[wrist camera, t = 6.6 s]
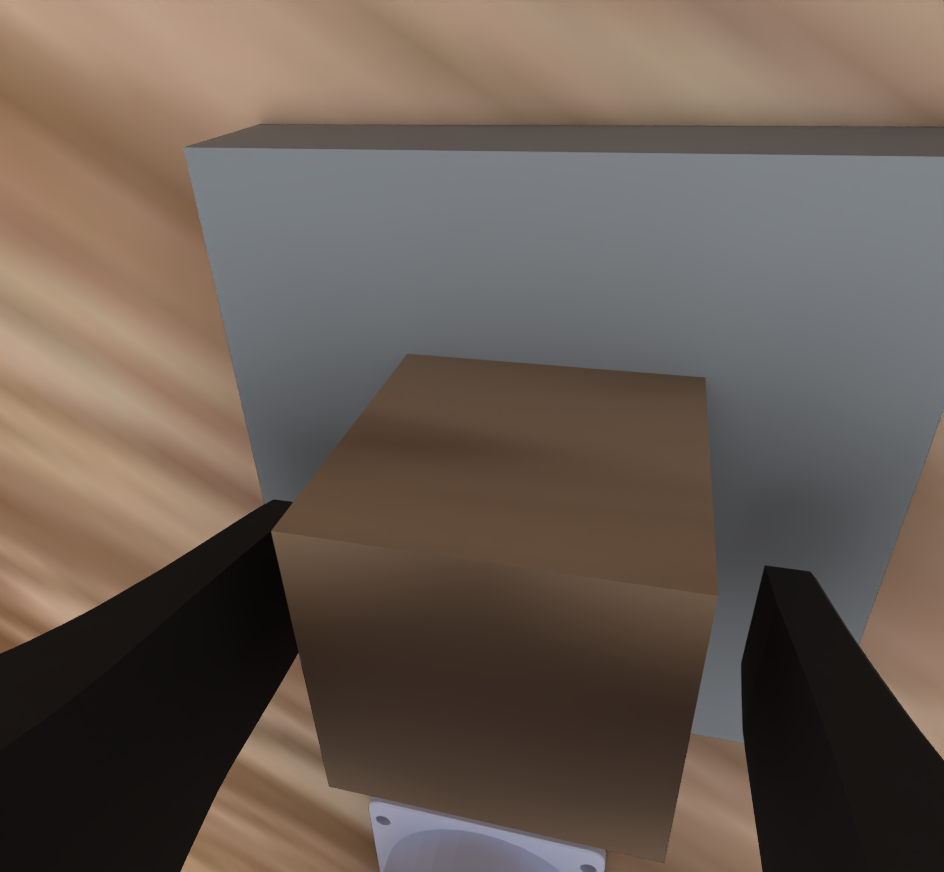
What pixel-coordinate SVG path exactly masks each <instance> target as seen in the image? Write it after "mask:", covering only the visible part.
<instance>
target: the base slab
mask: <svg viewBox="0 0 944 872" xmlns="http://www.w3.org/2000/svg"><path fill="white" fill-rule="evenodd" d="M183 148H184V152H185V156H186V161H187V165H188V170H189V174H190V179H191V183H192V187H193V192H194V196H195V201H196V205H197V209H198V214H199V218H200V223H201V227H202V231H203V236H204V240H205V245H206V249H207V253H208V258H209V262H210V267H211V271H212V276H213V280H214V284H215V289H216V293H217V298H218V302H219V306H220V311H221V315H222V320H223V324H224V328H225V333H226V337H227V342H228V346H229V350H230V355H231V359H232V364H233V368H234V372H235V377H236V381H237V386H238V390H239V395H240V399H241V403H242V408H243V412H244V417H245V421H246V425H247V430H248V434H249V439H250V443H251V447H252V452H253V456H254V461H255V465H256V469H257V474H258V478H259V483H260V487H261V492H262V496H263V500H264V504H266V503H268V502H270V501H271V500H273V499H275V500H283V501H290V502H294V501H295V499H296V498H297V497H298V495H299V494H300V493H301V492H302V490H303V489H304V488H305V486H306V485H307V484H308V482H309V481H310V480H311V479H312V477H313V476H314V475H315V473H316V472H317V471H318V469H319V468H320V467H321V466H322V464H323V463H324V462H325V460H326V459H327V458H328V456H329V455H330V454H331V453H332V451H333V450H334V449H335V447H336V446H337V445H338V443H339V442H340V441H341V440H342V438H343V437H344V436H345V434H346V433H347V432H348V430H349V429H350V428H351V427H352V425H353V424H354V423H355V421H356V420H357V419H358V417H359V416H360V415H361V414H362V412H363V411H364V410H365V408H366V407H367V406H368V404H369V403H370V402H371V401H372V399H373V398H374V397H375V395H376V394H377V393H378V391H379V390H380V389H381V388H382V386H383V385H384V384H385V382H386V381H387V380H388V378H389V377H390V376H391V375H392V373H393V372H394V371H395V369H396V368H397V367H398V365H399V364H400V363H401V362H402V360H403V359H404V358H405V356H406V355H407V354H416V355H428V356H441V357H454V358H466V359H479V360H491V361H504V362H517V363H529V364H542V365H554V366H567V367H580V368H592V369H605V370H617V371H630V372H643V373H655V374H668V375H680V376H693V377H705V383H706V399H707V416H708V432H709V449H710V466H711V482H712V499H713V516H714V532H715V549H716V565H717V582H718V600H717V605H716V610H715V615H714V620H713V625H712V630H711V635H710V640H709V645H708V650H707V654H706V659H705V664H704V669H703V674H702V679H701V684H700V689H699V694H698V699H697V704H696V709H695V714H694V719H693V724H692V729H691V733H692V734H697V735H702V736H708V737H713V738H718V739H724V740H729V741H734V742H740V743H744V737H743V730H742V698H741V661H742V657H743V653H744V648H745V644H746V640H747V636H748V632H749V628H750V624H751V619H752V615H753V611H754V607H755V603H756V599H757V595H758V591H759V586H760V582H761V578H762V574H763V570H764V566H765V565H767V566H774V567H782V568H789V569H797V570H804V571H810V572H811V573H812V574H813V575H814V576H815V578H816V579H817V580H818V582H819V584H820V585H821V587H822V589H823V590H824V592H825V593H826V595H827V597H828V598H829V600H830V601H831V603H832V605H833V606H834V608H835V609H836V611H837V613H838V614H839V616H840V617H841V619H842V620H843V622H844V624H845V625H846V627H847V628H848V630H849V631H850V633H851V634H852V636H853V637H854V639H855V640H856V642H857V643H858V645H859V643H860V640H861V637H862V635H863V632H864V629H865V626H866V624H867V621H868V618H869V615H870V612H871V610H872V607H873V604H874V601H875V599H876V596H877V593H878V590H879V587H880V585H881V582H882V579H883V576H884V574H885V571H886V568H887V565H888V563H889V560H890V557H891V554H892V551H893V549H894V546H895V543H896V540H897V538H898V535H899V532H900V529H901V526H902V524H903V521H904V518H905V515H906V513H907V510H908V507H909V504H910V501H911V499H912V496H913V493H914V490H915V488H916V485H917V482H918V479H919V477H920V474H921V471H922V468H923V465H924V463H925V460H926V457H927V454H928V452H929V449H930V446H931V443H932V440H933V438H934V435H935V432H936V429H937V427H938V424H939V421H940V418H941V415H942V413H943V410H944V127H786V126H529V125H271V124H259V125H256V126H253V127H249V128H246V129H243V130H239V131H236V132H233V133H229V134H226V135H223V136H220V137H216V138H213V139H210V140H206V141H203V142H200V143H196V144H193V145H190V146H187V147H183ZM298 655H299V653H298ZM299 659H300V656H299Z"/></svg>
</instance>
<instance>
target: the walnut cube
mask: <svg viewBox="0 0 944 872" xmlns="http://www.w3.org/2000/svg"><path fill="white" fill-rule="evenodd" d="M271 533H272V537H273V542H274V546H275V551H276V555H277V559H278V564H279V568H280V573H281V577H282V581H283V586H284V590H285V595H286V599H287V604H288V608H289V612H290V617H291V621H292V626H293V630H294V634H295V639H296V643H297V648H298V652H299V656H300V661H301V665H302V670H303V674H304V678H305V683H306V687H307V692H308V696H309V700H310V705H311V709H312V714H313V718H314V722H315V727H316V731H317V736H318V740H319V744H320V749H321V753H322V758H323V762H324V767H325V771H326V775H327V780H328V784H329V786H330V787H334V788H338V789H343V790H347V791H351V792H356V793H360V794H364V795H369V796H373V797H378V798H382V799H386V800H391V801H395V802H399V803H404V804H408V805H412V806H417V807H421V808H425V809H430V810H434V811H439V812H443V813H447V814H452V815H456V816H460V817H465V818H469V819H473V820H478V821H482V822H486V823H491V824H495V825H500V826H504V827H508V828H513V829H517V830H521V831H526V832H530V833H534V834H539V835H543V836H547V837H552V838H556V839H561V840H565V841H569V842H574V843H578V844H582V845H587V846H591V847H595V848H600V849H604V850H609V851H613V852H617V853H622V854H626V855H630V856H635V857H639V858H643V859H648V860H652V861H656V862H661V863H664V862H665V857H666V852H667V847H668V842H669V837H670V832H671V827H672V822H673V817H674V812H675V808H676V803H677V798H678V793H679V788H680V783H681V778H682V773H683V768H684V763H685V758H686V753H687V748H688V743H689V738H690V733H691V729H692V724H693V719H694V714H695V709H696V704H697V699H698V694H699V689H700V684H701V679H702V674H703V669H704V664H705V659H706V654H707V650H708V645H709V640H710V635H711V630H712V625H713V620H714V615H715V610H716V605H717V600H718V582H717V565H716V549H715V532H714V516H713V499H712V482H711V466H710V449H709V432H708V416H707V399H706V383H705V377H693V376H680V375H668V374H655V373H643V372H630V371H617V370H605V369H592V368H580V367H567V366H554V365H542V364H529V363H517V362H504V361H491V360H479V359H466V358H454V357H441V356H428V355H416V354H407V355H406V356H405V358H404V359H403V360H402V362H401V363H400V364H399V365H398V367H397V368H396V369H395V371H394V372H393V373H392V375H391V376H390V377H389V378H388V380H387V381H386V382H385V384H384V385H383V386H382V388H381V389H380V390H379V391H378V393H377V394H376V395H375V397H374V398H373V399H372V401H371V402H370V403H369V404H368V406H367V407H366V408H365V410H364V411H363V412H362V414H361V415H360V416H359V417H358V419H357V420H356V421H355V423H354V424H353V425H352V427H351V428H350V429H349V430H348V432H347V433H346V434H345V436H344V437H343V438H342V440H341V441H340V442H339V443H338V445H337V446H336V447H335V449H334V450H333V451H332V453H331V454H330V455H329V456H328V458H327V459H326V460H325V462H324V463H323V464H322V466H321V467H320V468H319V469H318V471H317V472H316V473H315V475H314V476H313V477H312V479H311V480H310V481H309V482H308V484H307V485H306V486H305V488H304V489H303V490H302V492H301V493H300V494H299V495H298V497H297V498H296V499H295V501H294V502H293V503H292V505H291V506H290V507H289V508H288V510H287V511H286V512H285V514H284V515H283V516H282V518H281V519H280V520H279V521H278V523H277V524H276V525H275V527H274V528H273V529H272V531H271Z"/></svg>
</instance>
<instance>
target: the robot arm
mask: <svg viewBox="0 0 944 872" xmlns="http://www.w3.org/2000/svg"><path fill="white" fill-rule="evenodd" d="M292 503H293V502H290V501H283V500H275V499H273V500H271V501H270V502H268V503H266V504H264V505H263V506H261V507H259V508H257V509H256V510H254V511H253V512H251V513H249V514H248V515H246V516H245V517H243V518H241V519H240V520H238V521H237V522H235V523H233V524H232V525H230V526H229V527H227V528H226V529H224V530H223V531H221V532H219V533H218V534H216V535H215V536H213V537H212V538H210V539H209V540H207V541H205V542H204V543H202V544H201V545H199V546H197V547H196V548H194V549H193V550H191V551H190V552H188V553H186V554H185V555H183V556H182V557H180V558H178V559H177V560H175V561H174V562H172V563H170V564H169V565H167V566H166V567H164V568H162V569H161V570H159V571H157V572H156V573H154V574H152V575H151V576H149V577H147V578H145V579H144V580H142V581H140V582H139V583H137V584H135V585H133V586H132V587H130V588H128V589H126V590H125V591H123V592H121V593H120V594H118V595H116V596H114V597H113V598H111V599H109V600H108V601H106V602H104V603H102V604H101V605H99V606H97V607H95V608H93V609H91V610H90V611H88V612H86V613H84V614H82V615H80V616H78V617H76V618H74V619H72V620H70V621H69V622H67V623H65V624H63V625H61V626H59V627H56V628H54V629H52V630H50V631H48V632H46V633H44V634H42V635H40V636H38V637H36V638H34V639H32V640H30V641H28V642H26V643H23V644H21V645H19V646H17V647H15V648H13V649H10V650H8V651H5V652H3V653H1V654H0V872H180V871H181V869H182V867H183V865H184V862H185V860H186V858H187V856H188V853H189V851H190V849H191V847H192V845H193V843H194V841H195V838H196V836H197V834H198V832H199V830H200V828H201V826H202V824H203V821H204V819H205V817H206V815H207V813H208V811H209V809H210V807H211V804H212V802H213V800H214V798H215V796H216V794H217V792H218V790H219V788H220V786H221V785H222V783H223V781H224V779H225V777H226V775H227V773H228V772H229V770H230V768H231V766H232V764H233V763H234V761H235V759H236V758H237V756H238V754H239V753H240V751H241V749H242V748H243V746H244V744H245V743H246V741H247V739H248V738H249V736H250V734H251V733H252V731H253V729H254V727H255V726H256V724H257V722H258V721H259V719H260V717H261V716H262V714H263V712H264V711H265V709H266V707H267V706H268V704H269V702H270V701H271V699H272V697H273V696H274V694H275V692H276V691H277V689H278V687H279V685H280V684H281V682H282V680H283V679H284V677H285V675H286V673H287V672H288V670H289V668H290V667H291V665H292V663H293V661H294V660H295V658H296V656H297V654H298V653H299V652H298V648H297V643H296V639H295V634H294V630H293V626H292V621H291V617H290V612H289V608H288V604H287V599H286V595H285V590H284V586H283V581H282V577H281V573H280V568H279V564H278V559H277V555H276V551H275V546H274V542H273V537H272V533H271V531H272V529H273V528H274V527H275V525H276V524H277V523H278V521H279V520H280V519H281V518H282V516H283V515H284V514H285V512H286V511H287V510H288V508H289V507H290V506H291V505H292ZM741 698H742V730H743V737H744V745H745V752H746V759H747V766H748V773H749V781H750V788H751V794H752V801H753V808H754V815H755V822H756V829H757V836H758V843H759V850H760V856H761V863H762V870H763V872H944V760H943V759H942V757H941V756H940V755H939V754H938V752H937V751H936V750H935V749H934V747H933V746H932V745H931V744H930V742H929V741H928V740H927V739H926V737H925V736H924V735H923V734H922V732H921V731H920V730H919V728H918V727H917V726H916V724H915V723H914V722H913V720H912V719H911V718H910V716H909V715H908V714H907V713H906V711H905V710H904V709H903V707H902V706H901V704H900V703H899V702H898V700H897V699H896V697H895V696H894V695H893V693H892V692H891V691H890V689H889V688H888V686H887V685H886V684H885V682H884V681H883V679H882V678H881V677H880V675H879V674H878V672H877V671H876V670H875V668H874V667H873V665H872V664H871V663H870V661H869V660H868V658H867V657H866V655H865V654H864V652H863V651H862V649H861V648H860V646H859V645H858V643H857V642H856V640H855V639H854V637H853V636H852V634H851V633H850V631H849V630H848V628H847V627H846V625H845V624H844V622H843V620H842V619H841V617H840V616H839V614H838V613H837V611H836V609H835V608H834V606H833V605H832V603H831V601H830V600H829V598H828V597H827V595H826V593H825V592H824V590H823V589H822V587H821V585H820V584H819V582H818V580H817V579H816V578H815V576H814V575H813V574H812V573H811V572H810V571H804V570H797V569H789V568H782V567H774V566H767V565H765V566H764V570H763V574H762V578H761V582H760V586H759V591H758V595H757V599H756V603H755V607H754V611H753V615H752V619H751V624H750V628H749V632H748V636H747V640H746V644H745V648H744V653H743V657H742V661H741ZM369 813H370V818H371V824H372V829H373V835H374V840H375V846H376V851H377V857H378V862H379V868H380V872H604V869H605V860H606V851H605V850H604V849H600V848H595V847H591V846H587V845H582V844H578V843H574V842H569V841H565V840H561V839H556V838H552V837H547V836H543V835H539V834H534V833H530V832H526V831H521V830H517V829H513V828H508V827H504V826H500V825H495V824H491V823H486V822H482V821H478V820H473V819H469V818H465V817H460V816H456V815H452V814H447V813H443V812H439V811H434V810H430V809H425V808H421V807H417V806H412V805H408V804H404V803H399V802H395V801H391V800H386V799H382V798H378V797H373V796H372V798H371V801H370V803H369Z"/></svg>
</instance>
